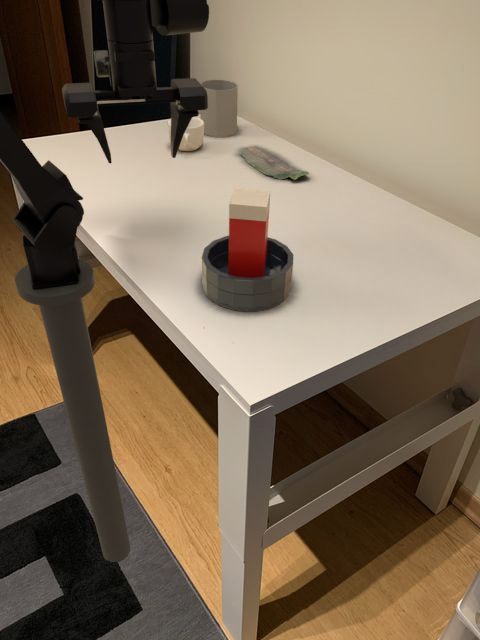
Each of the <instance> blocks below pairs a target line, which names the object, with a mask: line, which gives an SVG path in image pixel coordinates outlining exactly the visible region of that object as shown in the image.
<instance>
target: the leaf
mask: <svg viewBox="0 0 480 640" xmlns="http://www.w3.org/2000/svg"><path fill="white" fill-rule="evenodd" d="M239 156H241V157H243V158H244V159H245V162H246V163H247V164H249V165H250V166H251V167H253V168H254V169H256V170H257V171H258V172H260V173H262V174H263V175H265V176H270V177H273V178H274V179H278V180H284V179H287V178H290V179H292V180H297V179H298V178H300V177H302V176H307V175H311V173H310V172H309V171H307V170H301V169H297V168H296V167H294V166H292V165H289V164H288V163H287V162H286V161H285V160H284V159H282V158H280V157H279V156H278V155H275V154H274V153H272V152H271V151H268V150H265V149H264V148H260V147H257V146H248V147H246V148H243V149H242V150H241V153H240V154H239Z"/></svg>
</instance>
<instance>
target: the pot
mask: <svg viewBox="0 0 480 640" xmlns="http://www.w3.org/2000/svg"><path fill="white" fill-rule="evenodd" d="M202 251H203V252H202V255H201V282H202V289H203V291H204V293H205V295H206V297H207V298H208V299H209V300H210V301H211V302H213V303H214V304H216V305H217V306H220V307H222V308H224V309H227V310H231V311H237V312H247V313H249V312H251V313H252V312H262V311H266V310H270V309H274V308H276V307H278V306H279V305H281V304H283V302H285V301H286V300H287V299H288V297H289V296H290V293H291V290H292V283H293V270H294V253H293V252H292V251H291V249H290V248H289V246H287V245H286V244H284V243H283V242H281V241H279V240H277V239H275V238H272V237H269V236H268V239H267V256H266V272H265V276H264V277H257V278H245V277H236V276H232V275H229V235H225V236H222V237H220V238H217V239H214V240H212V241H211V242H210V243H209V244H208V245H206V246H205V247H204V249H203V250H202Z"/></svg>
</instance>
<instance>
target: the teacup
mask: <svg viewBox="0 0 480 640" xmlns="http://www.w3.org/2000/svg"><path fill="white" fill-rule="evenodd" d="M167 130H168V137H169V138H168V139H169V140H170V142H171V118H169V120H168V121H167ZM204 136H205V134H204V122H203V120H201V117H198V116H197V117H192V119H191V121H190V123H189V125H188V127H187V129H186V131H185V133H184V135H183V138H182V140H181V143H180V146H179V149H178V151H183V152H193V151H196V150H197V149H198V148H200V147H201V146H202V144H203V142H204Z"/></svg>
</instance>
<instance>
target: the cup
mask: <svg viewBox="0 0 480 640" xmlns="http://www.w3.org/2000/svg"><path fill="white" fill-rule="evenodd" d="M200 84H201V85H202V86H203V87H204V88H205V89H206V91H207V96H208V109H206V110H199V113H200V114H199V116H200V117H199V118H200V119H201V120H203V122H204V135H206V136H209V137H214V138H227V137H232V136H233V135H236V134H237V131H238V97H239V96H238V95H239V93H238V89H239V85H238V84H237V83H236V82H234V81H231V80H225V79H209V80H204V81H201V82H200Z"/></svg>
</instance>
